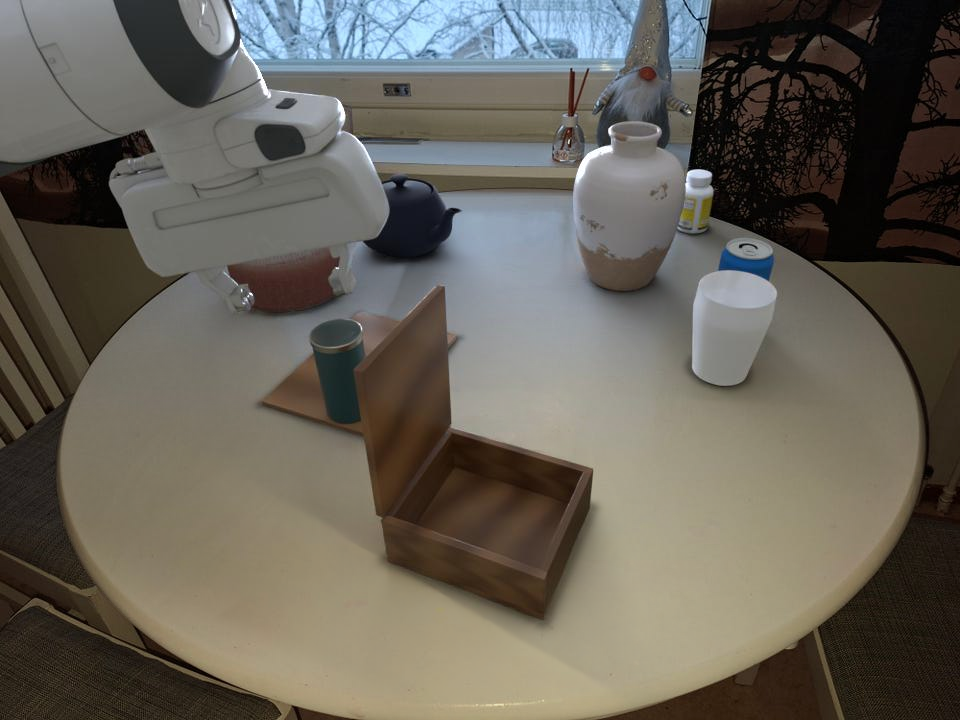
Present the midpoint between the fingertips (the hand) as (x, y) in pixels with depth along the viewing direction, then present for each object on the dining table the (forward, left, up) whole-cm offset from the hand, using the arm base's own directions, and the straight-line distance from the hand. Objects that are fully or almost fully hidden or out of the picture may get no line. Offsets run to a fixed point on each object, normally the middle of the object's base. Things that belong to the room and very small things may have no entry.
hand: (294, 299), depth 56 cm
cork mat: (+20, +9, -24) cm, 33 cm away
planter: (+34, +31, -24) cm, 52 cm away
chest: (+2, -17, -24) cm, 29 cm away
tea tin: (+12, +6, -23) cm, 27 cm away
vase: (+56, -15, -24) cm, 63 cm away
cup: (+37, -33, -24) cm, 55 cm away
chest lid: (+2, -9, -10) cm, 14 cm away
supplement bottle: (+77, -22, -24) cm, 83 cm away
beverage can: (+48, -33, -24) cm, 63 cm away
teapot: (+53, +21, -24) cm, 62 cm away
